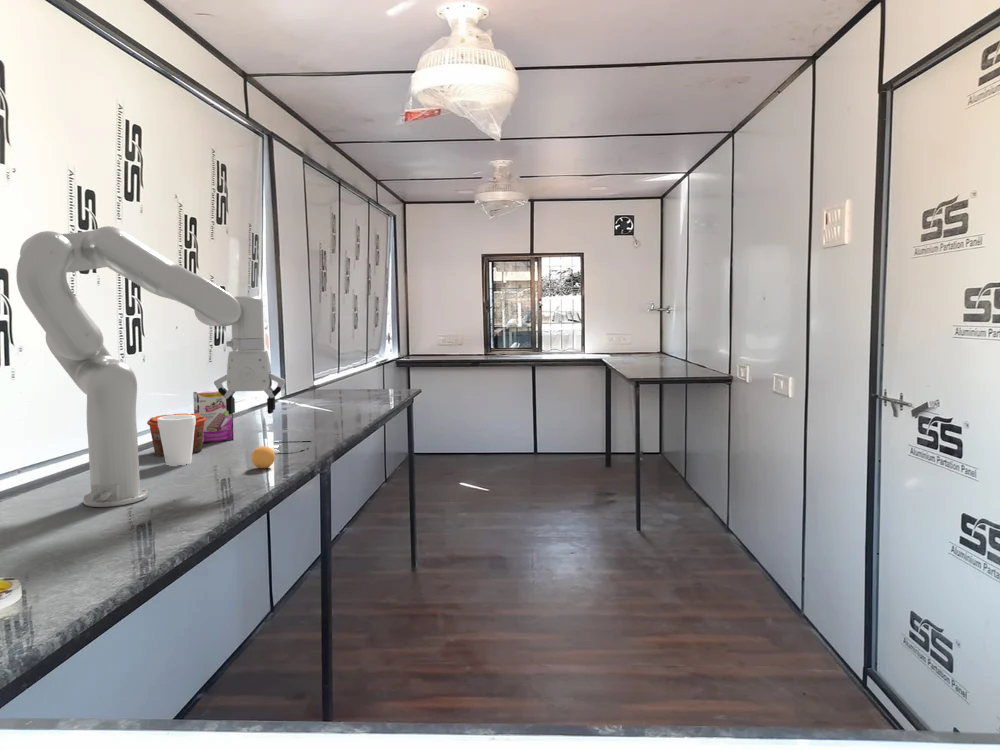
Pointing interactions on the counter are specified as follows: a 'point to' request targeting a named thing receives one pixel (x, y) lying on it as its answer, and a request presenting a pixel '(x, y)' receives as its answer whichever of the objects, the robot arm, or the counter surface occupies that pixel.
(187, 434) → the foam cup
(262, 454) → the ball
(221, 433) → the candy bar box
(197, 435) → the food container
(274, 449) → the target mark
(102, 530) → the counter surface
